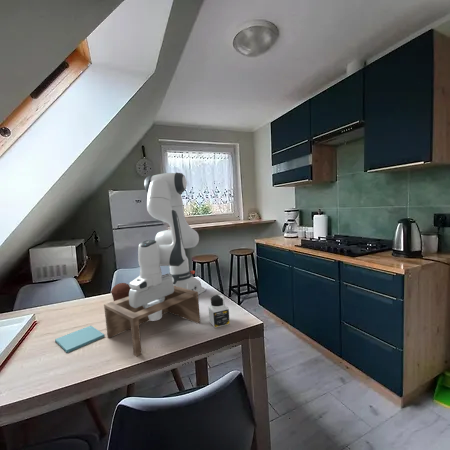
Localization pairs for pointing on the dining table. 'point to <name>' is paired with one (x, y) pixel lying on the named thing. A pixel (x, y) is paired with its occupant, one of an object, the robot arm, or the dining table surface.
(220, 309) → the medicine bottle
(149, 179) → the robot arm
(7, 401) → the dining table surface
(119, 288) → the muffin
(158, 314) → the shot glass
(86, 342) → the mat
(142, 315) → the box
